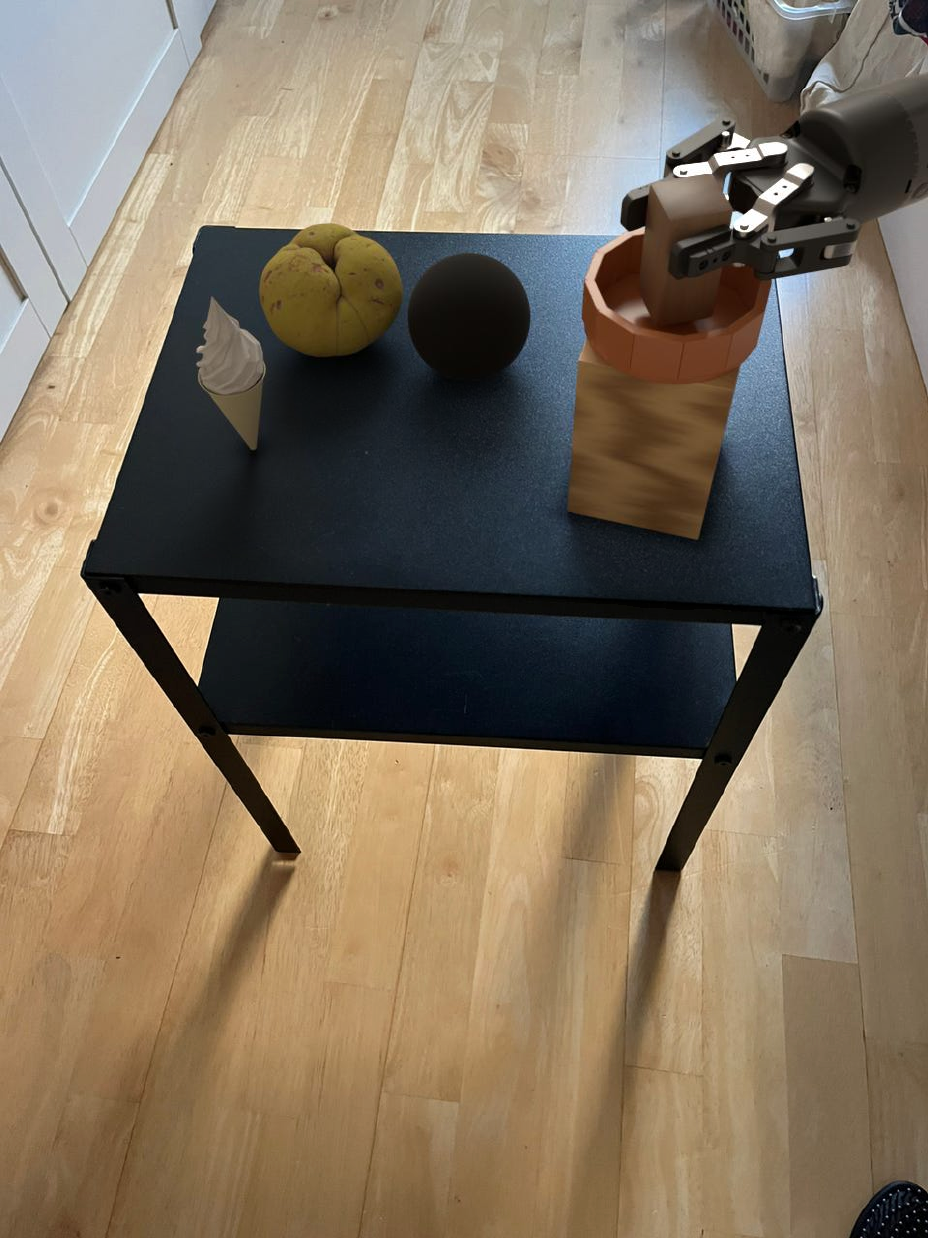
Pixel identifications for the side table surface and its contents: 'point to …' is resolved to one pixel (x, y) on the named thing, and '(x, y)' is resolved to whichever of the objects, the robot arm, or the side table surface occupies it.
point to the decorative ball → (469, 317)
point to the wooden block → (669, 220)
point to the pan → (674, 349)
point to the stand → (645, 446)
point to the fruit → (330, 291)
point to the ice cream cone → (232, 372)
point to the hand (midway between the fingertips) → (649, 238)
